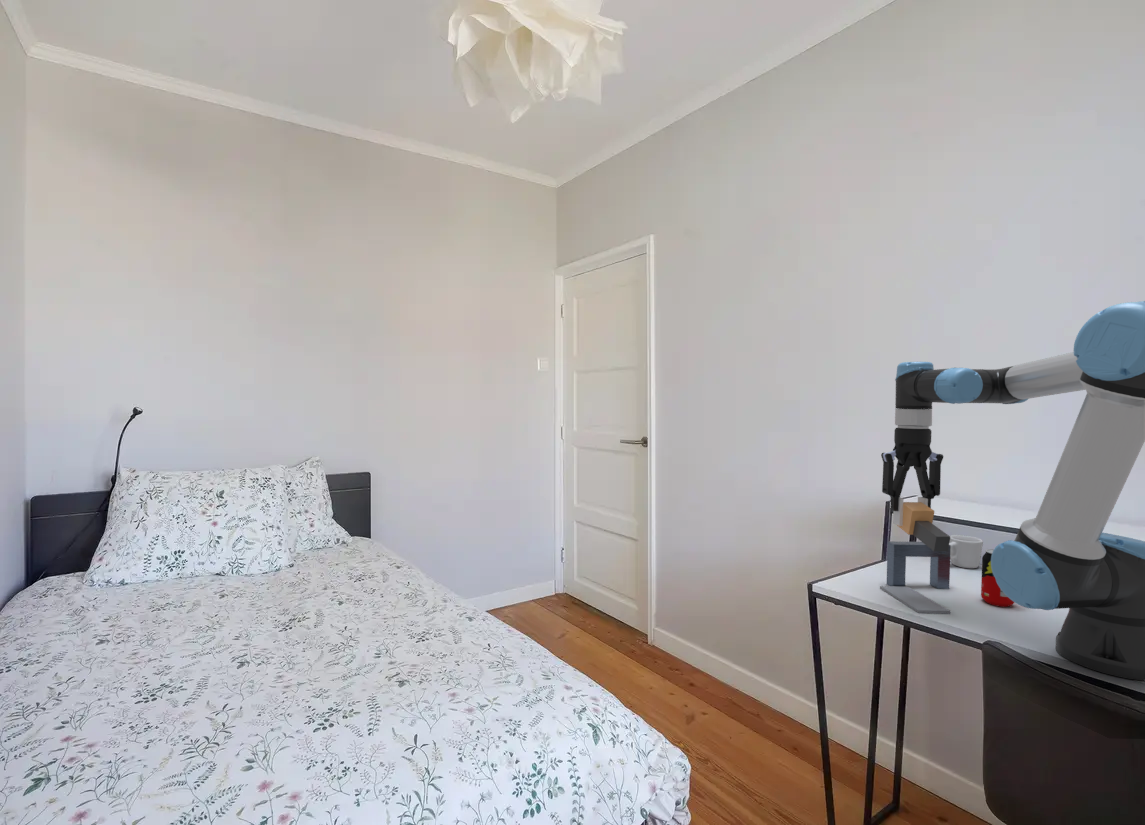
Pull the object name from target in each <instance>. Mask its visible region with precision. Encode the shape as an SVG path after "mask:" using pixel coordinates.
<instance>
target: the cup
mask: <svg viewBox="0 0 1145 825" xmlns="http://www.w3.org/2000/svg"><path fill="white" fill-rule="evenodd" d="M949 536H950V542H949V545H951V548H950V562H951V563H952V565H954V566H956V567H959V568H964V569H976V568H979V566H980V563H981V560H982V552H983V551H982V550H983V545H984V544H983V543H984V541H983V539H981V538H979V537H975V536H970V535H969V536H968V535H962V534H952V535H949Z"/></svg>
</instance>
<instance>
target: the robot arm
mask: <svg viewBox="0 0 1145 825" xmlns="http://www.w3.org/2000/svg"><path fill="white" fill-rule="evenodd" d="M894 381H895V402H894V403H895V409H894V410H895V413H894V414H895V415H894V425H895V426H897V427H895V428H894V438H893V439H894V440H893V441H894V446H893V448H892V451H888V452H882V453H881V459H882V463H883V464H882V465H883V466H882V486H881V492H882V493H883V494H885V495H888V496H889V498H890V502H889V503H890V504H889V505H890V510H891V511H893V513H892V514H893V515H892V516H893V517H892V518H893V520H892V524H894V525H896V526H897V525H899V526H903V502H904V497H901V494H902V491H903V487H904V485H905V482H906V477H907V473H908V471H909V470H910V468H912V467H913V469H914V470H915V474H916V478H917V482H918V485H919V491H920V495H921V496H917V502H922V503H923V504H925V505H926V506H928V507H929V508H931V509H932V500H933V499H934V498H935V497H936V496H937V497H939V496H940V495H941V474H942V473H941V472H942V471H941V470H942V469H941V467H942V466H941V465H942V462H943V460H944V455H943V453H936V452H933V451H932V448H931V444H932V430H931V428H930V427H932V426H933V403H937V404H938V403H940V404H941V403H942V404H952V405H955V404H956V405H958V404H1002V405H1013V404H1021V403H1024V402H1027V401H1028V400H1029V399H1034V398H1041V397H1047V396H1054V395H1061V394H1067V393H1073V392H1079V391H1080V392H1081V391H1086V395H1085V398H1084V399H1083V402H1082V405H1081V407H1080V409H1079V411H1078V414H1077V417H1076V420H1075V421H1074V424H1073V427H1072V429H1071V431H1070V433H1069V436H1068V439H1067V442H1066V444H1065V446H1064V449H1063V451H1062V453H1061V456H1060V457H1059V461H1058V464H1057V465H1056V468H1055V470H1054V472H1053V474H1052V478H1051V480H1050V483H1049V485H1048V488H1047V489H1046V493H1045V494H1044V497H1043V499H1042V502H1041V504H1040V507H1039V510H1038V512H1037V514H1036V517H1034V518H1030V519H1026V520H1024V521H1022V522H1021V524H1020V526H1019V529H1018V532H1017V534H1016V536H1015V539H1014V540H1012V539H1011V540H1006V541H1003V542H1001V543H999V544H997V545H996V546H995V547H994V548H993V549H994V550H993V552H992V556H991V568H992V572H993V575H994V577H995V579H996V582H997V584H998V586H999V587H1000V589H1001V590H1002V591H1003V593H1004V594H1005V595H1006V596H1007V597H1008V598H1010V599H1011V600H1012V601H1013V602H1014V604H1017V605H1018V606H1021V607H1023V608H1026V609H1030V610H1031V609H1032V610H1043V611H1051V610H1055V609H1056V610H1058V609H1068V612H1067V614H1066V616H1065V619H1064V620H1063V623H1062V626H1061V629H1060V631H1059V632H1058V633H1057V634H1056V636H1055V650H1056V652H1057V653H1058V654H1059V655H1060V656H1062V657H1063V658H1065V659H1067V660H1069V661H1071V662H1073V663H1074V664H1077V665H1079V666H1083V667H1085V668H1088V669H1090V670H1094V671H1097V672H1100V673H1103V674H1106V675H1110V676H1115V677H1118V678H1124V679H1129V680H1136V681H1143V680H1145V540H1141V539H1136V538H1133V537H1128V536H1123V535H1117V534H1114V533H1113V534H1112V533H1107V532H1103V531H1104V529H1105V527H1106V525H1107V523H1108V521H1109V519H1110V516H1111V515H1112V512H1113V511H1114V508H1115V505H1116V504H1117V501H1118V499H1119V498H1120V495H1121V492H1122V491H1123V488H1124V486H1125V484H1126V482H1127V480H1128V478H1129V476H1130V474H1131V471H1132V470H1133V467H1134V465H1135V463H1136V461H1137V458H1138V456H1139V454H1140V452H1141V450H1142V448H1143V446H1144V443H1145V300H1142V301H1135V302H1134V301H1131V302H1128V301H1127V302H1121V303H1116V304H1113V305H1110V306H1108V307H1107V308H1104V309H1102V310H1101V311H1098V312H1096V313H1095V314H1094V315H1092V316H1091V317H1090V318H1089V319H1087V321H1086V322H1085V323H1084V324H1083V325H1082V327H1081V328H1080V329H1079V331H1078V333H1077V335H1076V338H1075V340H1074V344H1073V351H1072V352H1068V353H1064V354H1060V355H1059V354H1058V355H1054V356H1051V357H1047V358H1046V357H1045V358H1041V359H1037V360H1033V361H1029V362H1024V363H1020V364H1016V365H1012V366H1007V367H1002V368H996V369H986V368H984V369H983V368H982V369H981V368H980V369H979V368H976V369H975V368H968V367H950V368H941V369H940V368H939V369H935V368H934V364H933V362H930V361H903V362H900V363H899V364H898V365H897V367H896V376H895V378H894ZM895 460H897V462H896V466H895V462H894V461H895ZM928 460H929V463H928V464H929V465H927V461H928ZM895 467H896V470H895ZM928 467H929V468H928ZM894 470H895V471H894Z"/></svg>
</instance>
